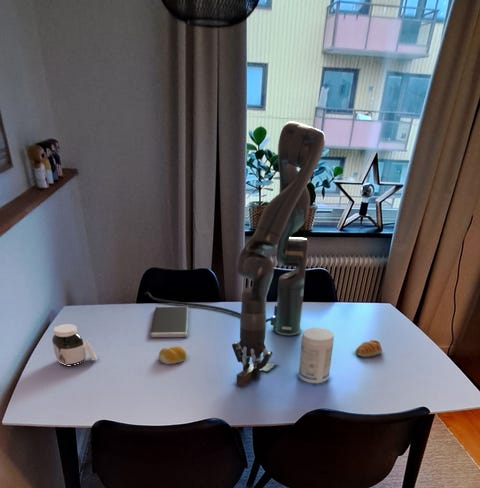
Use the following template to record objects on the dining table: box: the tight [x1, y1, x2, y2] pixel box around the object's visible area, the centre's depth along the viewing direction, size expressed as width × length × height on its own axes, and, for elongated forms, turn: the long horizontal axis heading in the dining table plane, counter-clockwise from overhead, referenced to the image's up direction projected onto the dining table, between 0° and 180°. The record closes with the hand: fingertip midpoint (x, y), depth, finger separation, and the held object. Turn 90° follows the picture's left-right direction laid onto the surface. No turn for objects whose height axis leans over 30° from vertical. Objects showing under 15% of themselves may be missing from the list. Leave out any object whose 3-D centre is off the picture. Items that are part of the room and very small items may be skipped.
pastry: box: [355, 339, 383, 358], centre depth 164 cm, size 9×7×4 cm
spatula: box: [236, 361, 277, 388], centre depth 150 cm, size 18×5×3 cm, turn 147°
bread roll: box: [158, 346, 187, 365], centre depth 158 cm, size 8×9×4 cm
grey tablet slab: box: [150, 306, 189, 338], centre depth 183 cm, size 13×27×2 cm, turn 4°
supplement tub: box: [298, 327, 334, 384], centre depth 146 cm, size 10×10×15 cm
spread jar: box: [51, 323, 98, 368], centre depth 153 cm, size 12×11×12 cm
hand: (251, 376), depth 150 cm, fingers closed
